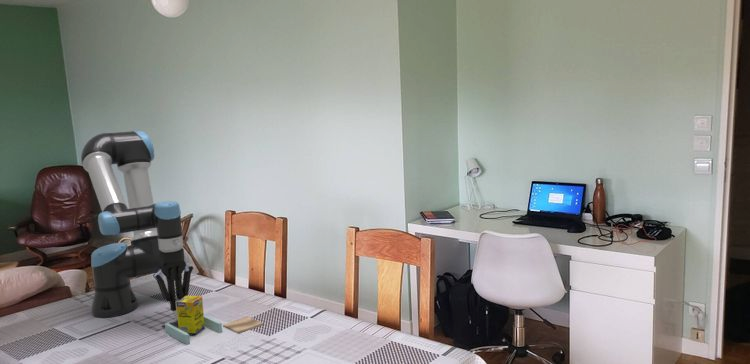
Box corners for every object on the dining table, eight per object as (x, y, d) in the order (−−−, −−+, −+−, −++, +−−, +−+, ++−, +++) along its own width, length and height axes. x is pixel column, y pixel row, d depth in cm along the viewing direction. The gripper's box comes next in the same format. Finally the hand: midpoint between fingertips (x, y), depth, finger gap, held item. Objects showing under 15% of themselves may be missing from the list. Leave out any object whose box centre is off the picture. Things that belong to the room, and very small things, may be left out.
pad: (223, 326, 179) (223, 324, 179) (247, 318, 186) (246, 316, 186) (238, 333, 173) (238, 331, 173) (262, 324, 180) (262, 322, 180)
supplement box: (196, 335, 173) (192, 302, 171) (178, 335, 174) (175, 301, 173) (205, 328, 179) (202, 295, 177) (188, 327, 180) (185, 295, 178)
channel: (165, 332, 176) (164, 323, 176) (200, 321, 185) (199, 312, 184) (186, 344, 167) (186, 335, 166) (222, 331, 175) (221, 322, 175)
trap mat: (161, 326, 182) (161, 325, 181) (187, 318, 188) (186, 317, 188) (172, 332, 176) (172, 332, 176) (198, 324, 182) (198, 323, 182)
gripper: (156, 255, 172) (164, 327, 175) (195, 246, 181) (201, 315, 184) (146, 252, 177) (153, 322, 180) (184, 243, 186) (190, 310, 190)
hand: (178, 318), depth 182 cm, fingers closed
